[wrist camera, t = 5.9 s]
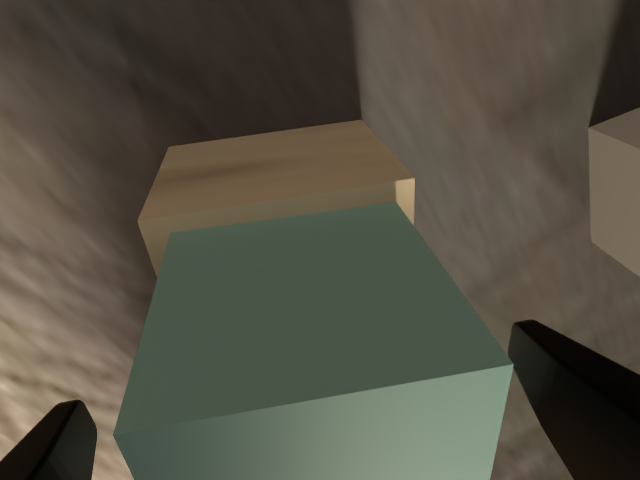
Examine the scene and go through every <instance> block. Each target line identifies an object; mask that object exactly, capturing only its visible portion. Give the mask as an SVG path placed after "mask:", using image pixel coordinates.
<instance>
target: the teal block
mask: <svg viewBox="0 0 640 480" xmlns="http://www.w3.org/2000/svg"><path fill="white" fill-rule="evenodd" d="M513 366H514V364H513V363H512V361H511V360H510V358H509V357H508V356H507V354H506V353H505V351H504V350H503V349H502V347H501V346H500V345H499V343H498V342H497V340H496V339H495V338H494V336H493V335H492V334H491V332H490V331H489V329H488V328H487V327H486V325H485V324H484V322H483V321H482V320H481V318H480V317H479V316H478V314H477V313H476V311H475V310H474V309H473V307H472V306H471V304H470V303H469V302H468V300H467V299H466V298H465V296H464V295H463V293H462V292H461V291H460V289H459V288H458V286H457V285H456V284H455V282H454V281H453V280H452V278H451V277H450V275H449V274H448V273H447V271H446V270H445V269H444V267H443V266H442V264H441V263H440V262H439V260H438V259H437V257H436V256H435V255H434V253H433V252H432V251H431V249H430V248H429V246H428V245H427V244H426V242H425V241H424V239H423V238H422V237H421V235H420V234H419V233H418V231H417V230H416V228H415V227H414V226H413V224H412V223H411V222H410V220H409V219H408V217H407V216H406V215H405V213H404V212H403V210H402V209H401V208H400V206H399V205H398V204H397V202H392V203H385V204H378V205H370V206H363V207H356V208H348V209H341V210H334V211H326V212H319V213H312V214H304V215H297V216H290V217H282V218H275V219H268V220H260V221H253V222H246V223H238V224H231V225H224V226H216V227H209V228H202V229H194V230H187V231H180V232H172V233H170V236H169V239H168V243H167V246H166V250H165V254H164V257H163V261H162V264H161V268H160V271H159V275H158V278H157V282H156V285H155V289H154V292H153V296H152V300H151V303H150V307H149V310H148V314H147V317H146V321H145V324H144V328H143V331H142V335H141V338H140V342H139V346H138V349H137V353H136V356H135V360H134V363H133V367H132V370H131V374H130V377H129V381H128V384H127V388H126V391H125V395H124V399H123V402H122V406H121V409H120V413H119V416H118V420H117V423H116V427H115V430H114V434H113V436H114V438H115V440H116V442H117V444H118V446H119V448H120V451H121V453H122V455H123V457H124V459H125V461H126V463H127V465H128V467H129V469H130V471H131V473H132V475H133V477H134V480H490V476H491V471H492V467H493V462H494V457H495V452H496V447H497V443H498V438H499V433H500V428H501V423H502V419H503V414H504V409H505V404H506V399H507V395H508V390H509V385H510V380H511V375H512V371H513Z"/></svg>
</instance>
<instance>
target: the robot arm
mask: <svg viewBox="0 0 640 480" xmlns="http://www.w3.org/2000/svg"><path fill="white" fill-rule="evenodd" d="M508 357H509V358H510V360H511V361H512V363H513V364H514V366H513V368H514V371H515V373H516V375H517V377H518V379H519V381H520V383H521V385H522V387H523V389H524V391H525V394H526V396H527V398H528V400H529V402H530V404H531V406H532V408H533V410H534V412H535V414H536V416H537V418H538V420H539V422H540V424H541V426H542V428H543V429H544V431H545V433H546V435H547V436H548V438H549V440H550V441H551V443H552V444H553V446H554V448H555V449H556V451H557V453H558V454H559V456H560V458H561V459H562V461H563V462H564V464H565V466H566V467H567V469H568V471H569V472H570V474H571V476H572V477H573V479H574V480H640V375H639V374H637V373H635V372H633V371H632V370H630V369H628V368H626V367H624V366H622V365H620V364H618V363H616V362H614V361H612V360H610V359H609V358H607V357H605V356H603V355H601V354H599V353H597V352H595V351H593V350H591V349H589V348H587V347H585V346H584V345H582V344H580V343H578V342H576V341H574V340H572V339H570V338H568V337H566V336H564V335H562V334H561V333H559V332H557V331H555V330H553V329H551V328H549V327H547V326H545V325H543V324H541V323H539V322H538V321H535V320H524V321H519V322H515V323H514V324H513V325H512V329H511V334H510V340H509V345H508ZM96 441H97V428H96V425H95V423H94V421H93V419H92V417H91V415H90V413H89V412H88V410H87V408H86V406H85V404H84V403H83V402H82V401H81V400H72V401H67V402H61V403H59V404H57V405H56V406H55V407H53V408H52V409H51V410H50V411H49V412H48V413H47V415H46V416H45V417H44V418H43V419H42V420H41V421H40V422H39V423H38V424H37V425H36V426H35V427H34V428H33V429H32V430H31V431H30V432H29V433H28V434H27V435H26V436H25V437H24V438H23V439H22V440H21V441H20V442H19V443H18V444H17V445H16V446H15V447H14V448H13V449H12V450H11V451H10V452H9V453H8V454H7V455H6V456H5V457H4V458H3V459H2V460H1V461H0V480H91V478H92V470H93V463H94V456H95V449H96Z"/></svg>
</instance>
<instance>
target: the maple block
mask: <svg viewBox="0 0 640 480" xmlns="http://www.w3.org/2000/svg"><path fill="white" fill-rule="evenodd" d="M414 188H415V178H414V177H413V176H412V175H411V174H410V172H409V171H408V170H407V169H406V168H405V167H404V166H403V165H402V164H401V162H400V161H399V160H398V159H397V158H396V157H395V156H394V155H393V154H392V152H391V151H390V150H389V149H388V148H387V147H386V146H385V145H384V144H383V142H382V141H381V140H380V139H379V138H378V137H377V136H376V135H375V134H374V132H373V131H372V130H371V129H370V128H369V127H368V126H367V125H366V124H365V122H364V121H363V120H362V119H361V120H354V121H347V122H340V123H333V124H326V125H319V126H312V127H305V128H298V129H291V130H284V131H277V132H269V133H262V134H255V135H248V136H241V137H234V138H227V139H220V140H213V141H206V142H199V143H192V144H185V145H178V146H170V147H168V150H167V152H166V155H165V157H164V159H163V162H162V164H161V166H160V169H159V171H158V173H157V176H156V178H155V180H154V183H153V185H152V187H151V190H150V192H149V195H148V197H147V199H146V202H145V204H144V206H143V209H142V211H141V213H140V216H139V218H138V220H137V222H138V225H139V228H140V231H141V234H142V236H143V239H144V242H145V245H146V248H147V251H148V254H149V256H150V259H151V262H152V265H153V268H154V271H155V274H156V276H157V278H158V275H159V271H160V268H161V264H162V261H163V257H164V254H165V250H166V246H167V243H168V239H169V236H170V233H172V232H180V231H187V230H194V229H202V228H209V227H216V226H224V225H231V224H238V223H246V222H253V221H260V220H268V219H275V218H282V217H290V216H297V215H304V214H312V213H319V212H326V211H334V210H341V209H348V208H356V207H363V206H370V205H378V204H385V203H392V202H397V204H398V205H399V206H400V208H401V209H402V210H403V212H404V213H405V215H406V216H407V217H408V219H409V220H410V222H411V223H412V224H413V226H414Z"/></svg>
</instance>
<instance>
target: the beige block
mask: <svg viewBox="0 0 640 480" xmlns="http://www.w3.org/2000/svg"><path fill="white" fill-rule="evenodd" d="M588 136H589V178H590V220H591V242H593V243H594V244H596V245H597V246H598V247H600V248H601V249H602V250H604V251H605V252H606V253H608V254H609V255H611V256H612V257H613V258H615V259H616V260H617V261H619V262H620V263H621V264H623V265H624V266H626V267H627V268H628V269H630V270H631V271H632V272H634V273H635V274H637V275H638V276H639V277H640V107H639V108H637V109H634V110H632V111H629V112H627V113H624V114H622V115H619V116H617V117H614V118H612V119H609V120H607V121H604V122H602V123H599V124H596V125H594V126H591V127H589V128H588Z"/></svg>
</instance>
